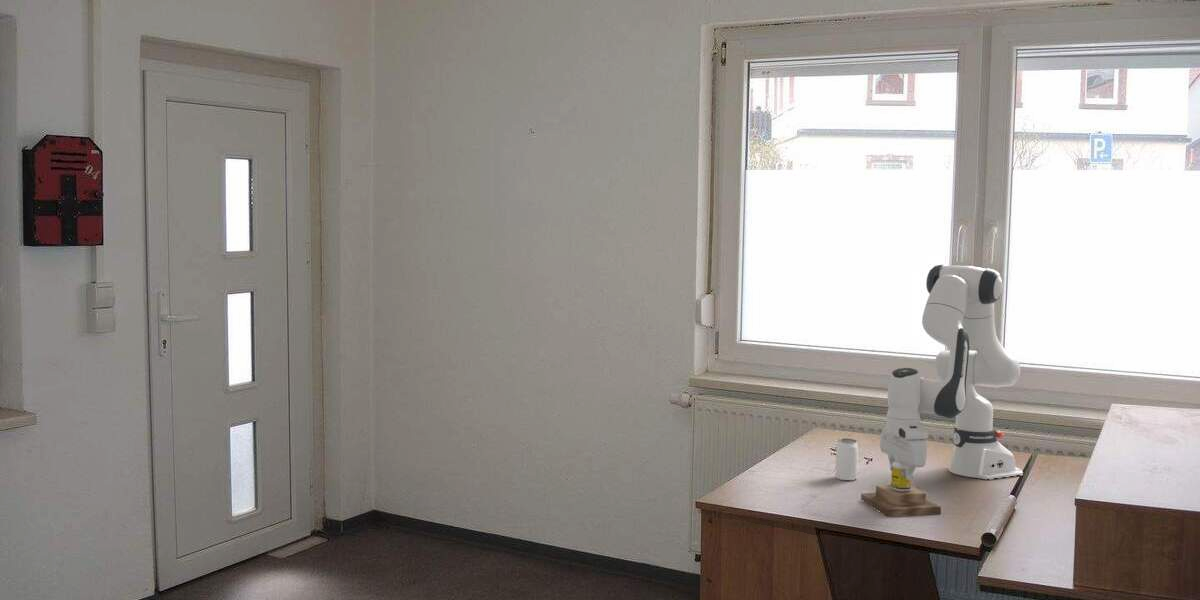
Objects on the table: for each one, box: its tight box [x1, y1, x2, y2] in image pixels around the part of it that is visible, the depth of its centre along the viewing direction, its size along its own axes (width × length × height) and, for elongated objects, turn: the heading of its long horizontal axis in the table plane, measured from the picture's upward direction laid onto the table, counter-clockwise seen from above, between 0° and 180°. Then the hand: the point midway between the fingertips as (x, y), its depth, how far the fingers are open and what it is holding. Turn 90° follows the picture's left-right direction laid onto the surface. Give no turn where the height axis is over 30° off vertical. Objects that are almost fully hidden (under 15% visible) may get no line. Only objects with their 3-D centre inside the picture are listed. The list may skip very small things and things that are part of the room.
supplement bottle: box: [890, 455, 912, 492], centre depth 292 cm, size 5×5×10 cm
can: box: [835, 438, 859, 481], centre depth 323 cm, size 6×6×12 cm
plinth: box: [860, 484, 942, 517], centre depth 293 cm, size 16×16×5 cm
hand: (901, 475), depth 293 cm, fingers open, 7 cm apart
